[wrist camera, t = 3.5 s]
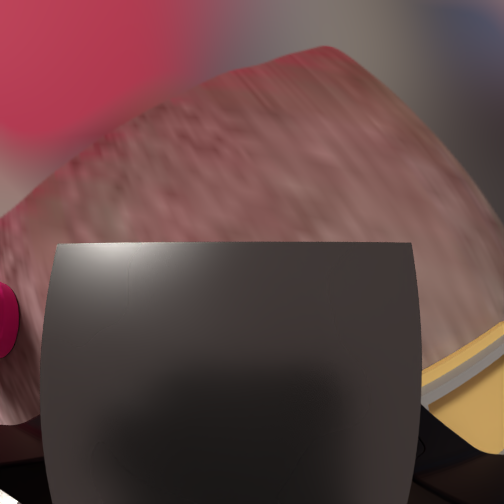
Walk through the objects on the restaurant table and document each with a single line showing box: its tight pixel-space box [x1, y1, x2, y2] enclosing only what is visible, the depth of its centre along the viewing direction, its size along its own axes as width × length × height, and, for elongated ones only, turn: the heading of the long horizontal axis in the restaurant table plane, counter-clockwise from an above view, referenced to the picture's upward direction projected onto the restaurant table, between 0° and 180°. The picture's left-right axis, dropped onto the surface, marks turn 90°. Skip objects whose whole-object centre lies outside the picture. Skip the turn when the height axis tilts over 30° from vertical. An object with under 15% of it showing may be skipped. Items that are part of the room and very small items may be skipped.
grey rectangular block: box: [40, 242, 422, 504], centre depth 8 cm, size 4×4×13 cm
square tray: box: [421, 321, 504, 455], centre depth 11 cm, size 10×10×3 cm
